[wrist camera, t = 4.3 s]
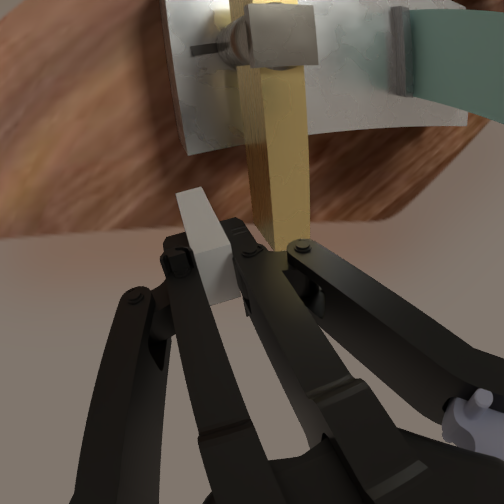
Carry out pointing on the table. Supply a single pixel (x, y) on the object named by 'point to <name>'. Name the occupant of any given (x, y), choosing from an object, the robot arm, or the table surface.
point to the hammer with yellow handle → (274, 109)
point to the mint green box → (459, 59)
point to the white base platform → (316, 76)
